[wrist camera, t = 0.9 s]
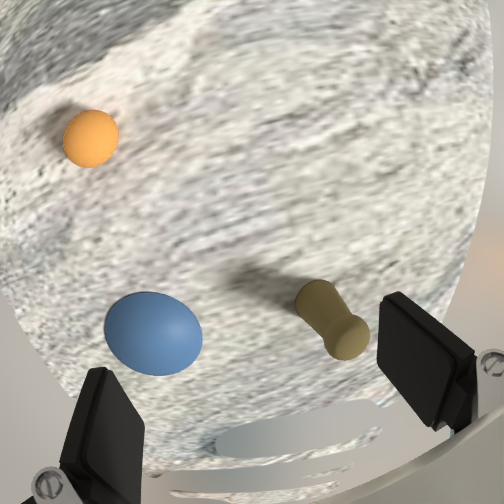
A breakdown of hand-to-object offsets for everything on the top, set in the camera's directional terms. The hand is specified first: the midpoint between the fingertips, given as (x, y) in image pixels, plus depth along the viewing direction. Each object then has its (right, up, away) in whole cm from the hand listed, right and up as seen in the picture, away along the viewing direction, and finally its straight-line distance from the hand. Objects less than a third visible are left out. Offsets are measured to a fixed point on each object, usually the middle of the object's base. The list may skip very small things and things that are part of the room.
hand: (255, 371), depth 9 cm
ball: (-16, +15, +16) cm, 28 cm away
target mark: (-13, -7, +27) cm, 31 cm away
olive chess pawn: (+8, -3, +30) cm, 31 cm away
